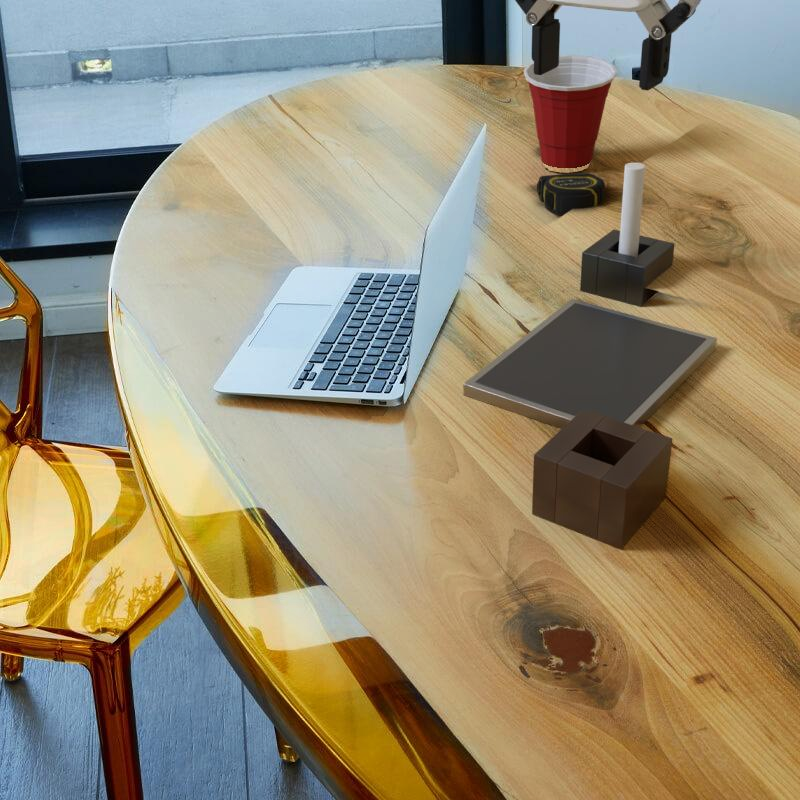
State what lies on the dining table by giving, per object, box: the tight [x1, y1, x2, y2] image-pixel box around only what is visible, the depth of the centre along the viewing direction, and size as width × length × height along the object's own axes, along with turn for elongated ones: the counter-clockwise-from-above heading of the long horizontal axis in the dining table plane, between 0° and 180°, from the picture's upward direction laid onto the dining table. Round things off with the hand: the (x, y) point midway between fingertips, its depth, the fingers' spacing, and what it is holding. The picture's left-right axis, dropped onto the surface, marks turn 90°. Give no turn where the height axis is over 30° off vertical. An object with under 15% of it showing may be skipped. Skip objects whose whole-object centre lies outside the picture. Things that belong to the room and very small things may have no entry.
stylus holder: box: [579, 229, 675, 307], centre depth 102 cm, size 6×6×4 cm
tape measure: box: [536, 172, 606, 217], centre depth 118 cm, size 7×7×4 cm
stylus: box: [619, 162, 646, 257], centre depth 100 cm, size 2×2×12 cm
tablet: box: [462, 298, 718, 430], centre depth 90 cm, size 14×18×1 cm
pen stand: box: [531, 409, 674, 550], centre depth 73 cm, size 7×7×5 cm
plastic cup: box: [523, 54, 618, 168], centre depth 129 cm, size 11×11×12 cm
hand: (597, 78), depth 89 cm, fingers open, 9 cm apart
